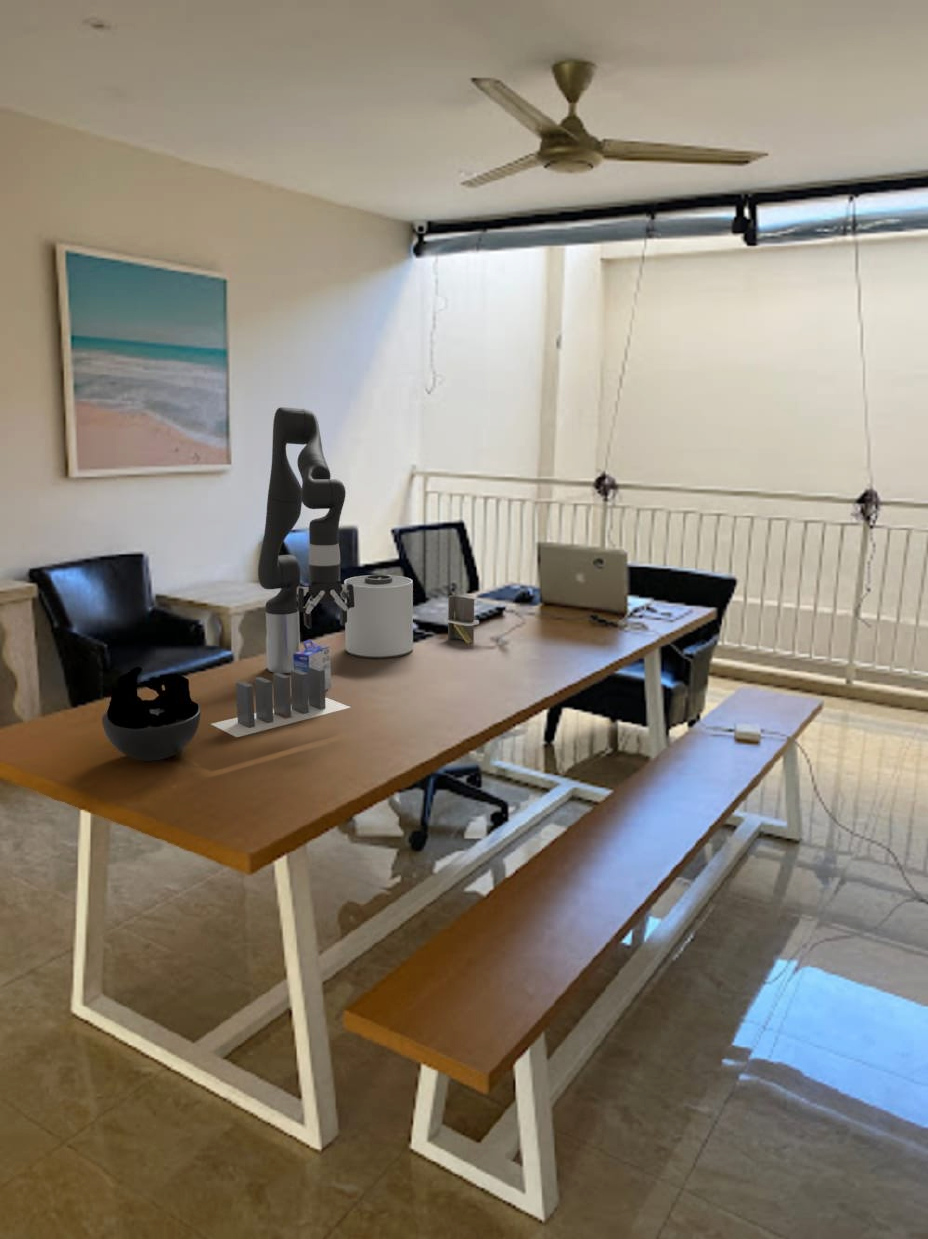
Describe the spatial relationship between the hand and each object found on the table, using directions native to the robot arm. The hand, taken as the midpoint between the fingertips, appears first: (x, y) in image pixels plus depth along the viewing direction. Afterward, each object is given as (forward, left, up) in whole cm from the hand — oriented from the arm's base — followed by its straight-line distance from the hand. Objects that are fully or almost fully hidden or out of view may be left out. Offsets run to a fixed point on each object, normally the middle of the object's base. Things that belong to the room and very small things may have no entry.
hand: (325, 626), depth 225 cm
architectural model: (-28, +72, -22) cm, 81 cm away
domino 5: (0, -3, -20) cm, 20 cm away
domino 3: (0, -13, -20) cm, 24 cm away
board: (0, -13, -21) cm, 25 cm away
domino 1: (0, -23, -20) cm, 31 cm away
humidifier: (-36, +43, -21) cm, 60 cm away
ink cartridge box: (-12, +4, -21) cm, 25 cm away
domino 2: (0, -18, -20) cm, 27 cm away
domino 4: (0, -8, -20) cm, 22 cm away
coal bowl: (+3, -47, -21) cm, 52 cm away
